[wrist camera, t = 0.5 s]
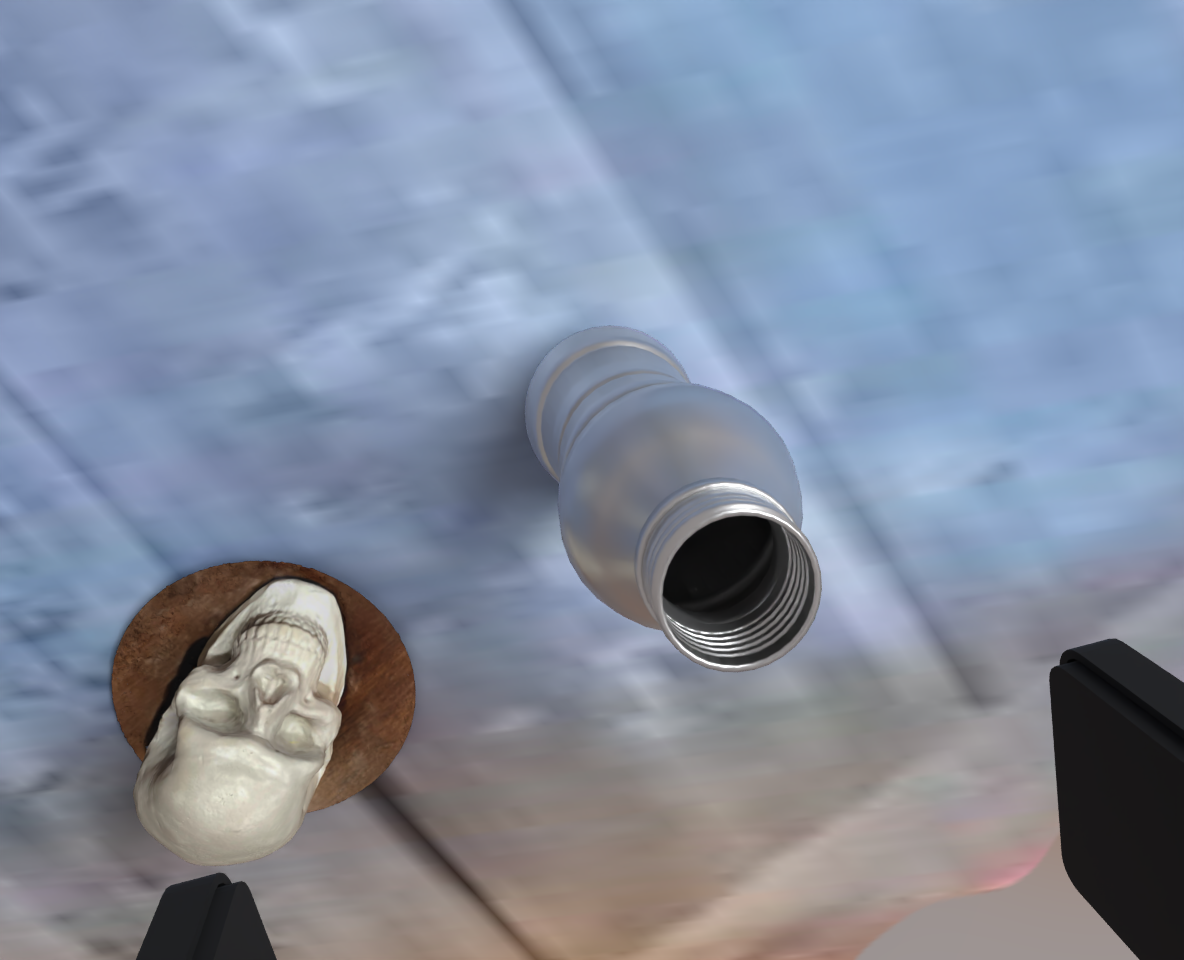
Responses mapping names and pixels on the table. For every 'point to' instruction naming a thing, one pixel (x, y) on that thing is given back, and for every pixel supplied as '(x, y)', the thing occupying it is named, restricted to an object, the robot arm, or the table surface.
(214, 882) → the robot arm
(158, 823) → the skull
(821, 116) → the table surface
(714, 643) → the plastic bottle
